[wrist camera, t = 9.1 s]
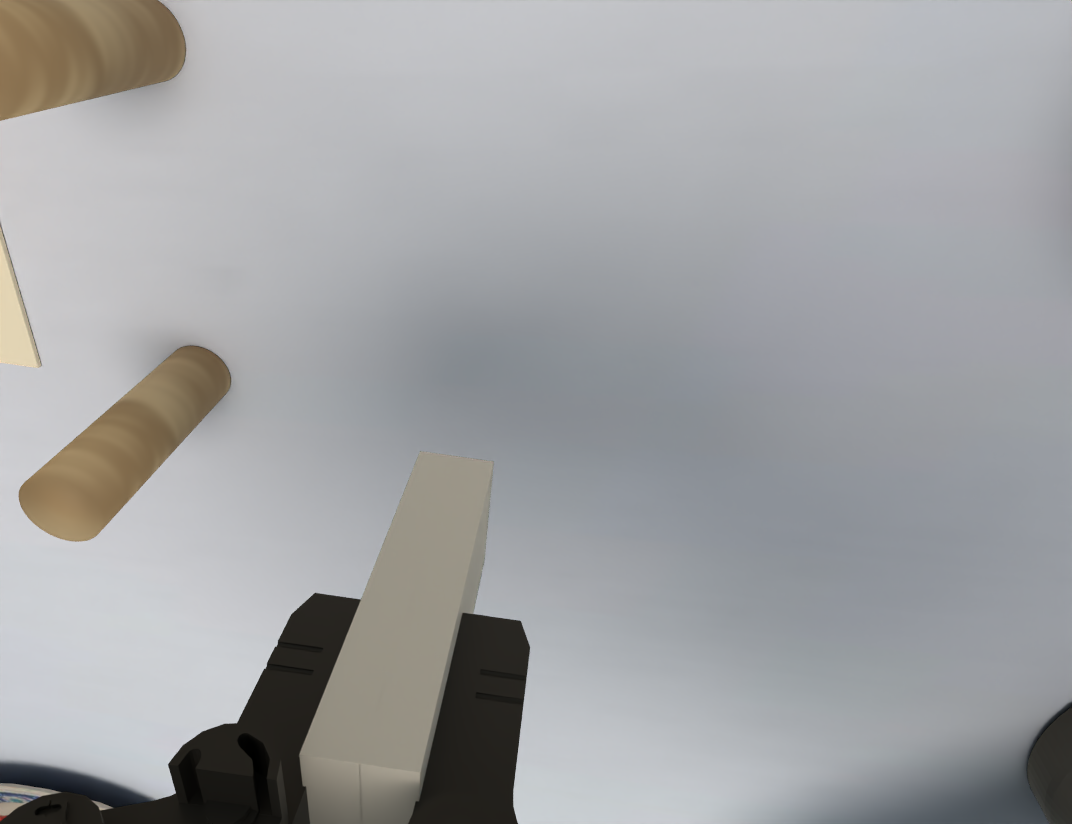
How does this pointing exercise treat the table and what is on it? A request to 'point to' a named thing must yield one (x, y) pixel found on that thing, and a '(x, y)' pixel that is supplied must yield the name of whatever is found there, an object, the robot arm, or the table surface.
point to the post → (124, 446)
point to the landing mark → (14, 318)
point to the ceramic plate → (25, 797)
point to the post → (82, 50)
